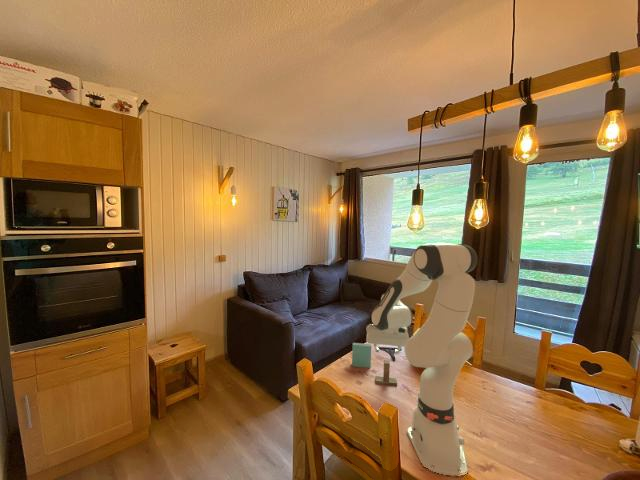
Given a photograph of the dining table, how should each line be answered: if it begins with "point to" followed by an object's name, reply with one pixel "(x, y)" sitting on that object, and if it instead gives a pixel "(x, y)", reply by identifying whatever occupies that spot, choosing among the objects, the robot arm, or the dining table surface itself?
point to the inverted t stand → (386, 376)
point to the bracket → (389, 351)
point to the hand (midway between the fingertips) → (386, 352)
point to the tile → (361, 355)
